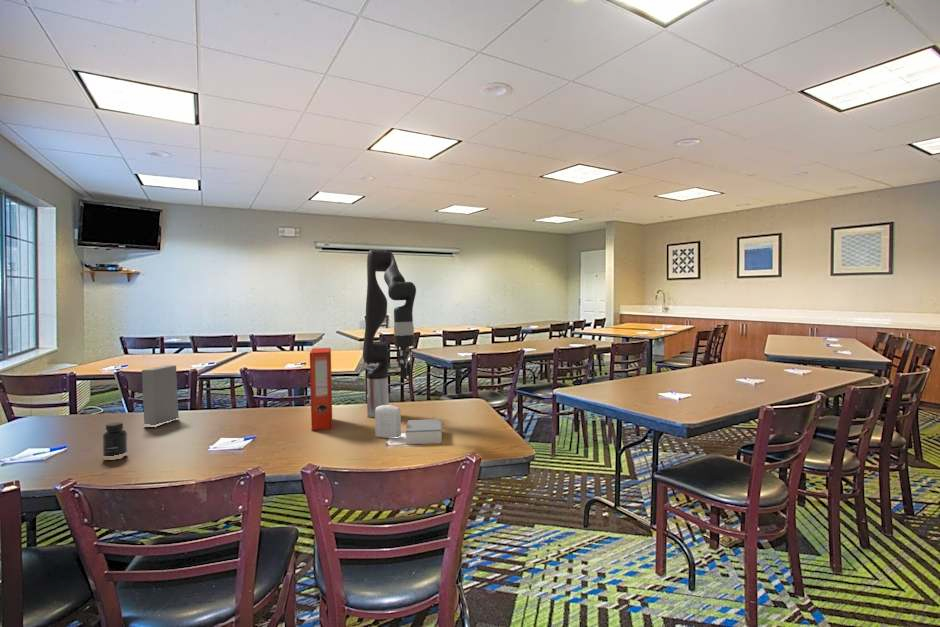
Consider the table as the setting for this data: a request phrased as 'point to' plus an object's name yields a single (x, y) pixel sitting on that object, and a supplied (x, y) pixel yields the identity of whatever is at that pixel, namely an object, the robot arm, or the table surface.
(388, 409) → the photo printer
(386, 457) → the table surface
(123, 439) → the supplement bottle
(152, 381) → the grey upright panel
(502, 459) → the table surface
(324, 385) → the file binder
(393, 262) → the robot arm
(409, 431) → the plinth
